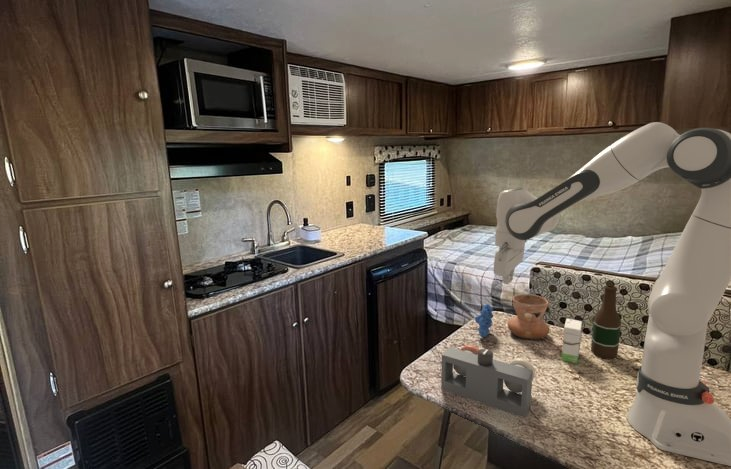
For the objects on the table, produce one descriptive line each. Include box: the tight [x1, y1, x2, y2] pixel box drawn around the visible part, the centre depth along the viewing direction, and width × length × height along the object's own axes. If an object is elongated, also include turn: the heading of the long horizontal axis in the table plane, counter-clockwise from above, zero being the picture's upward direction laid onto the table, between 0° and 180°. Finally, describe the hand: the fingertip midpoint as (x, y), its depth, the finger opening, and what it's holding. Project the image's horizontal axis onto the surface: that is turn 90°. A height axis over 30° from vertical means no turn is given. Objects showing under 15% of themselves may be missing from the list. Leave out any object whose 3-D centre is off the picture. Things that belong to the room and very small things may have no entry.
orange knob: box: [453, 344, 480, 377], centre depth 118 cm, size 7×8×7 cm
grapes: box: [474, 303, 494, 339], centre depth 147 cm, size 12×7×12 cm, turn 147°
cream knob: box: [503, 357, 536, 394], centre depth 110 cm, size 7×8×7 cm
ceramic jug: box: [507, 293, 550, 340], centre depth 147 cm, size 18×14×14 cm
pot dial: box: [478, 348, 494, 366], centre depth 107 cm, size 4×4×3 cm
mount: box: [440, 346, 533, 419], centre depth 109 cm, size 24×6×11 cm, turn 55°
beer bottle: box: [590, 284, 622, 360], centre depth 130 cm, size 8×8×24 cm
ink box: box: [561, 318, 583, 364], centre depth 130 cm, size 9×5×12 cm, turn 149°
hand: (507, 282), depth 125 cm, fingers closed
